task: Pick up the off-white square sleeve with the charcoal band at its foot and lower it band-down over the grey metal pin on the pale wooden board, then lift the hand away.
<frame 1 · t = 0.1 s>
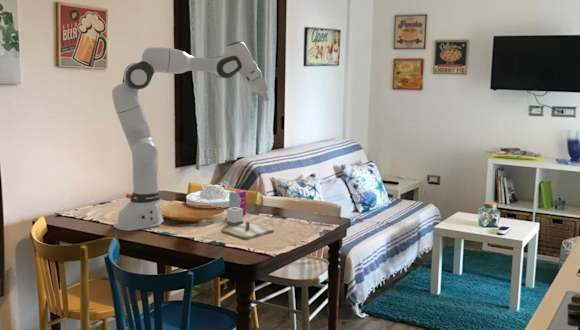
hand: (264, 99, 293), 54 cm above the table, tool tilted 30°, fingers open, 8 cm apart
supplement box: (237, 215, 300), on the table
sleeve: (235, 223, 284), on the table
cake: (213, 202, 325), on the table
pin board: (247, 231, 273), on the table
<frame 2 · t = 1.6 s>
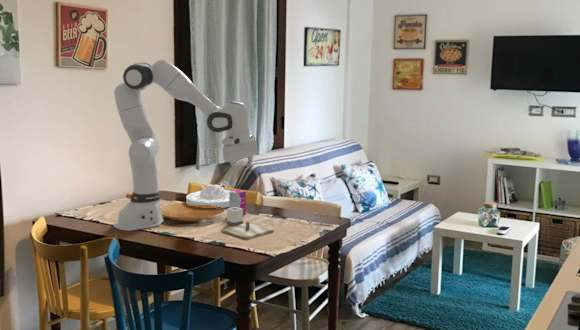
hand: (242, 168, 282), 25 cm above the table, tool pointing down, fingers open, 8 cm apart
nothing on the table moved.
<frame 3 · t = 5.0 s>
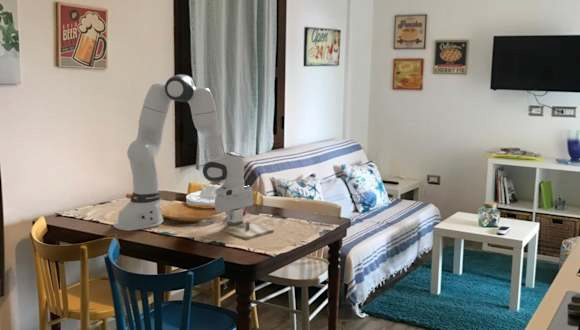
hand: (235, 218, 284), 3 cm above the table, tool pointing down, fingers closed on sleeve, 5 cm apart
sleeve: (235, 223, 284), on the table, touching gripper
everything else where it was.
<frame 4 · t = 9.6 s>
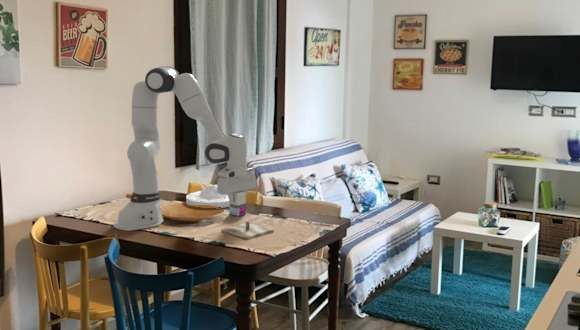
hand: (237, 201, 280), 11 cm above the table, tool pointing down, fingers closed on sleeve, 5 cm apart
sleeve: (237, 206, 280), point 9 cm above the table, touching gripper
everything else where it was.
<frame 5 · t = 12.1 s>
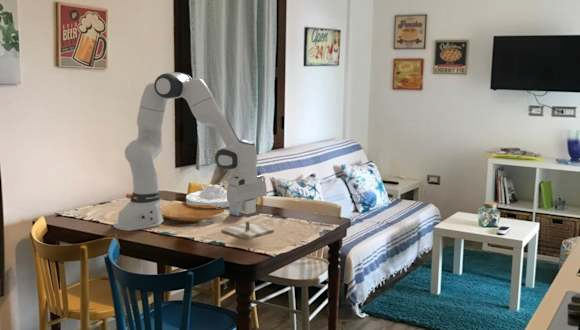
hand: (247, 209, 271), 10 cm above the table, tool pointing down, fingers closed on sleeve, 5 cm apart
sleeve: (247, 215, 271), point 7 cm above the table, touching gripper
everything else where it was.
when the fingers open (5 cm above the table, at t = 14.2 s): sleeve drops 1 cm, resting on pin board.
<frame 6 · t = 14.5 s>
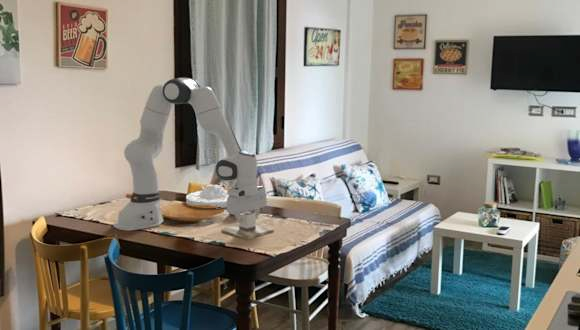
hand: (247, 220, 272), 5 cm above the table, tool pointing down, fingers open, 8 cm apart
sleeve: (247, 229, 272), point 1 cm above the table, touching pin board
everything else where it was.
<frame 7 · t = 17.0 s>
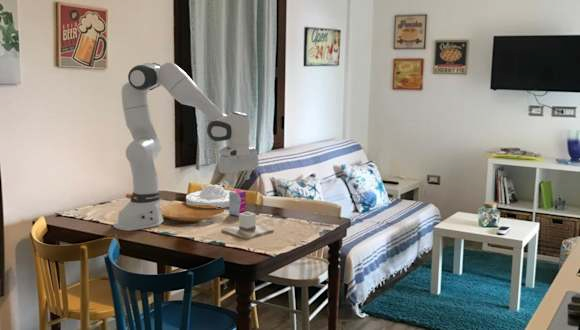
hand: (238, 180, 274), 21 cm above the table, tool pointing down, fingers open, 8 cm apart
nothing on the table moved.
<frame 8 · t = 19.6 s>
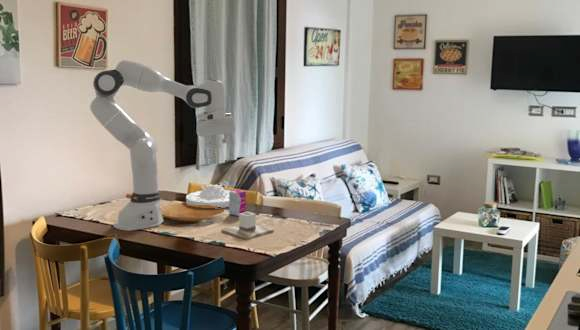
hand: (216, 144, 293), 34 cm above the table, tool pointing down, fingers open, 8 cm apart
nothing on the table moved.
at the end: sleeve 0.1 cm off-centre on the pin board, point 1.0 cm above the pin board's base; sleeve tilted 0°; the gripper is holding nothing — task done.
